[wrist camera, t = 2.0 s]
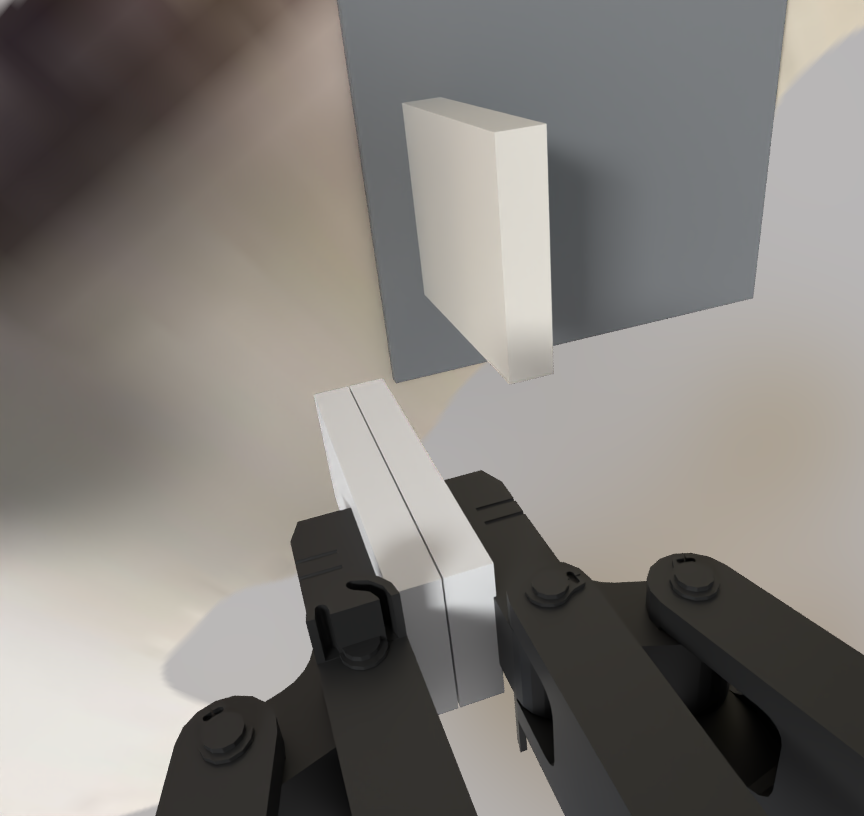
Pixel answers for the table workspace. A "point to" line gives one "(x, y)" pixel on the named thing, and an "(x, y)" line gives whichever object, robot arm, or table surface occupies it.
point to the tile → (485, 228)
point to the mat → (580, 148)
